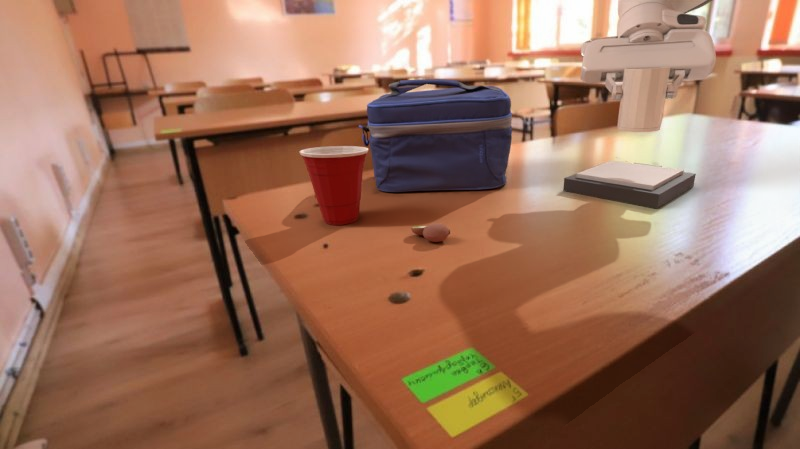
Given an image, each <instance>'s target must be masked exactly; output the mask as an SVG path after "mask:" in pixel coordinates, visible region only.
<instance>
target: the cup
mask: <svg viewBox="0 0 800 449" xmlns="http://www.w3.org/2000/svg"><path fill="white" fill-rule="evenodd" d="M669 73H670V67H661V68H651V69H630V68H626V69H624V77H623V82H622V85H621V86H622V97H621V100H619V101H620V102H619V109H618V110H619V111H618V116H617V126H616V129H617V130H619V131H622V132H627V133H629V132H630V133H651V132H653V133H654V132H658V131H661V128H662V123H663V115H664V109H665V103H666V99H665V98H666V92H667V85H668V84H669V81H668V79H669Z"/></svg>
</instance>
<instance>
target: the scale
mask: <svg viewBox="0 0 800 449" xmlns="http://www.w3.org/2000/svg"><path fill="white" fill-rule="evenodd" d="M696 176H697V173H693V172H686V171H685V170H684V169H681V168H672V167H665V166H662V165H658V164H657V165H656V164H649V163H640V162H628V161H627V162H625V161H617V160H607V161H605V162H602V163H600V164H597V165H595V166H592V167H589V168H587V169H584V170H582V171H578V172H577V173H574V174H571V175H568V176H566V177H564V178H563V186H562V187H563V188H562V190H563V192H567V193H573V194H578V195H583V196H587V197H594V198H598V199H603V200H610V201H613V202H619V203H624V204H630V205H635V206H639V207H645V208H649V209H650V208H651V209H655V210H657V209H659V208H661V207H662V206H664V205H666V204H667V203H669V202H671V201H673V200H674V199H676V198H677V197H679V196H681V195H682V194H684V193H685V192H687V191H688V190H691V189H692V188H694V185H695V180H696Z"/></svg>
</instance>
